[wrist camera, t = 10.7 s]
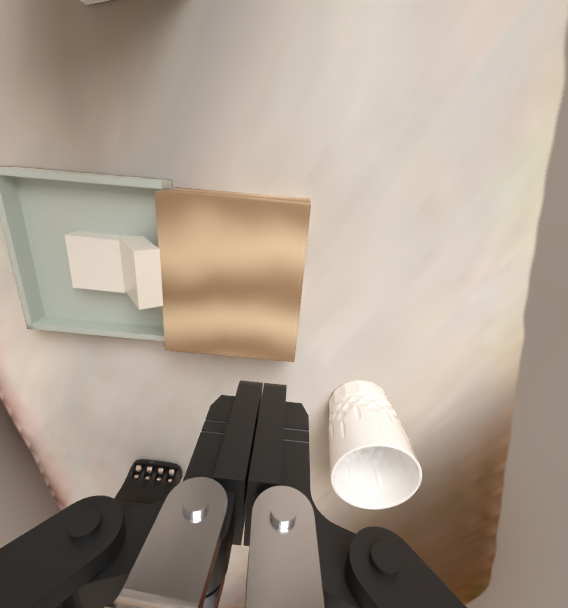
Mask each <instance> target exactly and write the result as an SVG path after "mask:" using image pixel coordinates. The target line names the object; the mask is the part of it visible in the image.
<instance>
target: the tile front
mask: <svg viewBox="0 0 568 608" xmlns="http://www.w3.org/2000/svg"><path fill="white" fill-rule="evenodd" d="M119 243H120V252H121V261H122V271H123V280H124V289H125V291H126V292H127V294H128V295H129V297H130V298H131V299H132V301H133V302H134V304H135V305H136V306H137V308H138V309H139V310H141V309H147V308H153V307H159V306H163V293H162V277H161V260H160V249H159V248H158V247H156V246H155V245H154V244H153V243H151V242H150V241H149V240H148V239H146V238H145V237H144V236H125V237H119Z"/></svg>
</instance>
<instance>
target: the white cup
mask: <svg viewBox="0 0 568 608" xmlns="http://www.w3.org/2000/svg"><path fill="white" fill-rule="evenodd" d="M329 412H330V416H329V418H330V419H329V452H330V476H331V484H332V487H333V489H334V491H335V493H336V494H337V495H338V496H339V497H340V498H341V499H342V500H344V501H345V502H347V503H349V504H351V505H353V506H356V507H359V508H364V509H385V508H389V507H393V506H396V505H398V504H401V503H403V502H404V501H406V500H407V499H409V498H410V497H411V496H412V495H413V494H414V493H415V492H416V491H417V489H418V488H419V486H420V483H421V480H422V470H421V467H420V464H419V462H418V460H417V458H416V456H415V454H414V451H413V449H412V447H411V445H410V442H409V440H408V438H407V436H406V433H405V431H404V429H403V427H402V425H401V423H400V421H399V419H398V417H397V415H396V413H395V411H394V409H393V407H392V406H391V404H390V402H389V399H388V397H387V396H386V394H385V393H384V391H383V389H382V388H381V387H379V386H377V385H376V384H374V383H372V382H369V381H361V380H356V381H352V382H348V383H344V384H343V385H341V386H340V387H339V388H337V389H336V390H335V391H334V392H333V394H332V396H331V398H330V400H329Z"/></svg>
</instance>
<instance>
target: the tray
mask: <svg viewBox="0 0 568 608" xmlns="http://www.w3.org/2000/svg"><path fill="white" fill-rule="evenodd" d="M171 188H172V180H166V179H154V178H142V177H131V176H119V175H108V174H96V173H84V172H73V171H61V170H49V169H38V168H26V167H15V166H0V219H1V223H2V227H3V231H4V236H5V240H6V244H7V248H8V252H9V256H10V260H11V264H12V268H13V272H14V276H15V280H16V284H17V289H18V293H19V297H20V301H21V305H22V309H23V313H24V317H25V321H26V325H27V329H35V330H45V331H56V332H67V333H78V334H89V335H100V336H110V337H121V338H132V339H143V340H154V341H165V339H164V324H163V309H162V306H159V307H153V308H147V309H141V310H139V309H138V308H137V306H136V305H135V304H134V302H133V301H132V299H131V298H130V297H129V295H128V294H127V292H126V293H120V292H110V291H101V290H91V289H81V288H73V285H72V279H71V273H70V267H69V260H68V254H67V248H66V242H65V236H64V235H66V234H69V233H73V232H76V231H85V232H95V233H105V234H115V235H124V236H144V237H145V238H146V239H148V240H149V241H150V242H151V243H153V244H154V245H155V246H156V247H158V236H157V222H156V207H155V192H156V191H161V190H166V189H171Z"/></svg>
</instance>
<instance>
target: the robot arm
mask: <svg viewBox="0 0 568 608" xmlns="http://www.w3.org/2000/svg"><path fill="white" fill-rule="evenodd" d="M262 386H263V383H259V382H249V381H240V382H239V386H238V389H237V393H236V396H226V395H221V396H220V397H219V398H218V399H217V400H216V401H215V402H214V403H213V404H212V405H211V406H210V409H209V412H208V414H207V417H206V421H205V422H204V425H203V428H202V432H201V433H200V436H199V439H198V441H197V444H196V447H195V450H194V452H193V455H192V458H191V461H190V463H189V466H188V469H187V471H186V474H185V477H184V479H183V481H182V482H181V483H180V484H178V485H177V486H176V487H175V488H173V489H172V491H171V492H170V493H169V494H168V496H167V497H166V498H164V499H162V500H160V501H158V502H156V503H153V504H149V505H144V506H140V507H135V508H130V509H125V510H122V508H121V506H120V504H119V503H118V502H117V501H116V500H115V499H113V498H111V497H108V496H92V497H88V498H84V499H82V500H79V501H77V502H76V503H74V504H72V505H70V506H69V507H67V508H65V509H64V510H62V511H60V512H59V513H57V514H56V515H54V516H52V517H51V518H49V519H47V520H46V521H44V522H43V523H41V524H39V525H38V526H36V527H35V528H33V529H31V530H30V531H28V532H26V533H25V534H23V535H21V536H20V537H18V538H17V539H15V540H14V541H12V542H10V543H9V544H7V545H5V546H4V547H2V548H0V608H218V605H219V601H220V597H221V593H222V589H223V585H224V581H225V575H226V572H227V569H228V564H229V558H230V552H231V547H232V544H234V545H241V541H242V535H243V529H244V522H245V531H244V545H245V546H249V556H248V569H247V581H246V596H245V608H467V607H466V606H465V605H464V604H463V603H462V602H461V601H460V600H459V599H458V598H457V597H456V596H455V595H454V594H453V592H452V591H451V590H450V589H449V588H448V587H447V586H446V585H445V584H444V583H443V582H442V581H441V580H440V579H439V577H438V576H437V575H436V574H435V573H434V572H433V571H432V570H431V569H430V568H429V567H428V566H427V565H426V564H425V563H424V561H423V560H422V559H421V558H420V557H419V556H418V555H417V554H416V553H415V552H414V551H413V550H412V549H411V548H410V547H409V545H408V544H407V543H406V542H405V541H404V540H403V539H402V538H400V537H399V536H398V535H396V534H395V533H393V532H392V531H390V530H387V529H385V528H381V527H367V528H364V529H362V530H360V531H359V532H358V533H357V534H355V533H353V532H351V531H348V530H346V529H344V528H342V527H340V526H338V525H336V524H334V523H332V522H330V521H329V520H328V519H326V518H325V517H324V516H323V515H322V514H321V513H320V512H319V511H318V509H317V508H316V506H315V504H314V502H313V500H312V497H311V492H310V461H309V420H308V414H307V412H306V411H305V409H304V407H303V405H302V403H293V402H285V401H286V385H279V384H269V383H264V388H263V394H262ZM261 399H262V400H261ZM245 516H246V517H245Z"/></svg>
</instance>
